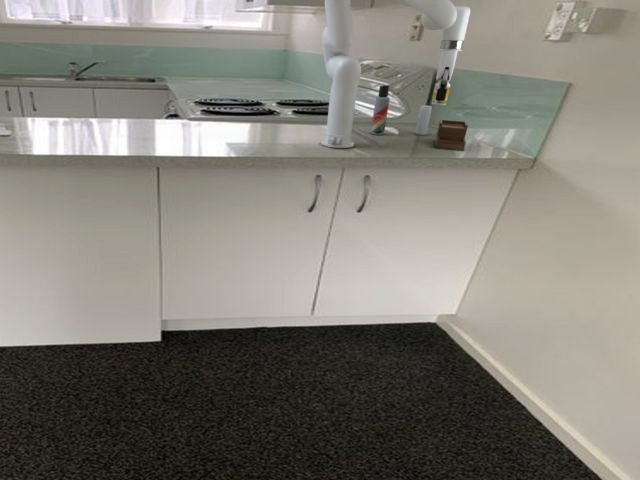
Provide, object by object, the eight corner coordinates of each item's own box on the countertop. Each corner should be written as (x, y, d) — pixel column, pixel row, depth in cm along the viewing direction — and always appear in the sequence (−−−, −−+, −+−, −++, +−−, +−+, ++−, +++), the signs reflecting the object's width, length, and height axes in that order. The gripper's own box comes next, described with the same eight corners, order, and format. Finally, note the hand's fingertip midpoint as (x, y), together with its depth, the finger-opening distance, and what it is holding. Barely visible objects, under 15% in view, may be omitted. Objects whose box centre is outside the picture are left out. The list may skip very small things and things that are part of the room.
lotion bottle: (376, 135, 181) (384, 86, 172) (367, 133, 186) (374, 84, 176) (386, 134, 183) (394, 85, 174) (377, 132, 188) (385, 84, 179)
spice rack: (463, 151, 159) (469, 128, 155) (435, 148, 162) (440, 125, 158) (461, 143, 172) (466, 121, 168) (435, 140, 175) (439, 119, 171)
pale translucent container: (426, 134, 187) (432, 105, 182) (426, 136, 183) (432, 107, 178) (414, 133, 188) (420, 105, 183) (414, 135, 184) (420, 106, 179)
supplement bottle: (428, 104, 160) (434, 77, 156) (435, 103, 163) (441, 76, 159) (441, 105, 157) (447, 78, 152) (448, 105, 160) (455, 77, 155)
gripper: (439, 45, 159) (429, 96, 168) (440, 46, 145) (429, 101, 153) (461, 46, 157) (449, 97, 165) (464, 46, 143) (451, 102, 151)
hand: (439, 99), depth 159 cm, fingers closed on supplement bottle, 5 cm apart
